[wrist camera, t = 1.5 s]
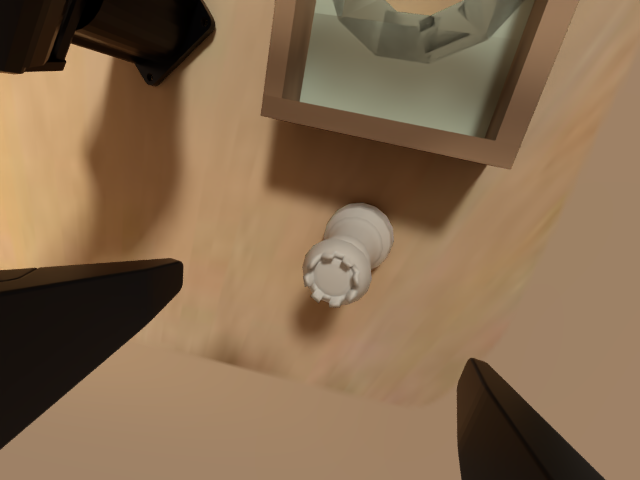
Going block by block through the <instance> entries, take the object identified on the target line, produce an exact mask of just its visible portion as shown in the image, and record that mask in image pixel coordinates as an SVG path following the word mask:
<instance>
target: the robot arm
mask: <svg viewBox="0 0 640 480" xmlns="http://www.w3.org/2000/svg"><path fill="white" fill-rule="evenodd" d="M206 20H208V24H207V26H205V21H206ZM214 28H215V21H214V18H213V17H212V15H211V13H210V11H209V10H208V8H207V6H206V4H205V3H204V1H203V0H0V73H8V74H23V73H24V72H36V71H63V69H64V67H65V64H66V60H65V57H66V55H67V52H68V49H69V47H70V44H74V45H78V46H81V47H84V48H87V49H90V50H94V51H97V52H100V53H103V54H106V55H110V56H113V57H116V58H119V59H122V60H126V61H129V62H132V63H135V65H136V67H137V68H138V70H139V72H140V73H141V75H142V77H143V78H144V80H145V82H146V83H147V84H149V85H152V86H157V85H159V84H160V83H161V82H162V81H163V80H164V79H165V78H166V77H167V76H168V75H169V74H170V73H171V72H172V71H173V70H174V69H175V68H176V67H177V66H178V65H179V64H180V63H181V62H182V61H183V60H184V59H185V58H186V57H187V56H188V55H189V54H190V53H191V52H192V51H193V50H194V49H195V48H196V47H197V46H198V45H199V44H200V43H201V42H202V41H203V40H204V39H205V38H206V37H207V36H208V35H209V34H210V33H212V31H213V30H214ZM152 75H153V80H152V79H151V77H152ZM182 284H183V263H182V262H181V261H178V260H175V259H172V258H165V259H151V260H138V261H124V262H110V263H96V264H83V265H69V266H55V267H41V268H38V269H37V268H27V269H12V270H0V450H1V449H2V448H3V447H4V446H5V445H6V444H8V443H9V442H10V441H11V440H12V439H13V438H15V437H16V436H17V435H18V434H19V433H20V432H22V431H23V430H24V429H25V428H26V427H28V426H29V425H30V424H31V423H32V422H33V421H35V420H36V419H37V418H38V417H39V416H40V415H42V414H43V413H44V412H45V411H46V410H48V409H49V408H50V407H51V406H52V405H53V404H55V403H56V402H57V401H58V400H59V399H60V398H62V397H63V396H64V395H65V394H66V393H67V392H69V391H70V390H71V389H72V388H73V387H75V386H76V385H77V384H78V383H79V382H80V381H81V380H83V379H84V378H85V377H86V376H87V375H89V374H90V373H91V372H92V371H93V370H94V369H96V368H97V367H98V366H99V365H100V364H101V363H103V362H104V361H105V360H106V359H107V358H109V357H110V356H111V355H112V354H113V353H114V352H116V351H117V350H118V349H119V348H120V347H121V346H123V345H124V344H125V343H126V342H127V341H129V340H130V339H131V338H132V337H133V336H134V335H136V334H137V333H138V332H139V331H140V330H141V329H143V328H144V327H145V326H146V325H147V324H148V323H149V322H150V321H151V320H152V319H153V318H154V317H155V316H156V315H157V314H158V313H159V312H160V311H161V310H162V309H163V308H164V307H165V306H166V305H167V304H168V303H169V302H170V301H171V300H172V299H173V298H174V297H175V296H176V295H177V294H178V292H179V291H180V290H181V288H182ZM457 440H458V441H457V442H458V454H459V463H460V471H461V479H462V480H605V479H604V478H603V477H602V476H601V475H600V474H599V473H598V472H597V471H596V470H595V469H594V468H593V467H592V466H591V465H590V464H589V463H588V462H587V461H586V460H585V459H584V458H583V457H582V456H581V455H580V454H579V453H578V452H577V451H576V450H575V449H574V448H573V447H572V446H571V445H570V444H569V443H568V442H567V441H566V440H565V439H564V438H563V437H562V436H561V435H560V434H559V433H558V432H556V430H554V429H553V428H552V427H551V425H549V424H548V423H547V422H546V421H545V420H544V419H543V418H542V417H541V416H540V415H539V414H538V413H537V412H536V411H535V410H534V409H533V408H532V407H531V406H530V405H529V404H528V403H527V402H526V401H525V400H524V399H523V398H522V397H521V396H520V395H519V394H518V393H517V392H516V391H515V390H514V389H513V388H512V387H511V386H510V385H509V384H508V383H507V382H506V381H505V380H504V379H503V378H502V377H501V376H500V375H499V374H498V373H497V372H496V371H495V370H493V368H491V366H490V365H488V363H486V362H484V361H481V360H478V359H475V358H470V359H469V360H468V361H467V363H466V365H465V367H464V370H463V372H462V374H461V377H460V379H459V381H458V385H457Z"/></svg>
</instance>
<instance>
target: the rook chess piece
mask: <svg viewBox="0 0 640 480" xmlns="http://www.w3.org/2000/svg"><path fill="white" fill-rule="evenodd" d="M393 242H394V237H393V227H392V225H391V223H390V221H389V220H388V218H387V216H386V215H385V214H384V213H383V212H381V211H380V210H379V209H378V208H377V207H375V206H372V205H369V204H365V203H353V204H348V205H346V206H344V207H342V208H340V209H338V210H337V211H336V213H335V214H334V215H333V216H332V218H331V219H330V220H329V222H328V223H327V226H326V230H325V233H324V240H323V241H321V242H319V243H317V244H315V245H313V247H312V248H311V249H310V250H309V252H308V253H307V254H306V255H305V259H304V263H303V267H302V268H303V275H304V276H303V278H304V285H305V287H306V286H308V287H309V289H310V291H311V292H312V294H311V297H312V298H313V299H314V300H315V301H317V302H318V303H319V302H320V300H322V301H325V302H328V303H329V307H340V306H341V305H348V304H350V303H353V302H355V301H358V300H359V299H360V298H361V297H362V296H363V295H364V294H365V293H366V292H367V291H368V288H369V285H370V282H371V279H372V277H371V269H373V268H376V267H378V266H379V265H380V264H381V263H382V262H383V261H384V260H385V259H386V258H387V257H388V254H389V253H390V250H391V247H392V244H393Z"/></svg>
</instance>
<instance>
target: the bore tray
mask: <svg viewBox="0 0 640 480" xmlns="http://www.w3.org/2000/svg"><path fill="white" fill-rule="evenodd" d="M578 3H579V0H464V1H461V2H459V3H457V4H455V5H453V6H450V7H448V8H446V9H444V10H442V11H439V12H437V13H435V14H433V15H431V16H429V15H421V14H413V13H405V12H397V11H396V10H395V9H394V8H393V7H392V6H391V5H390V4H389V3H387V2H386V1H385V0H275V8H274V16H273V24H272V32H271V39H270V47H269V55H268V63H267V70H266V78H265V86H264V94H263V102H262V109H261V116H265V117H269V118H273V119H278V120H282V121H287V122H291V123H296V124H300V125H305V126H309V127H314V128H319V129H323V130H328V131H333V132H337V133H342V134H347V135H351V136H356V137H360V138H365V139H370V140H374V141H379V142H384V143H388V144H393V145H398V146H402V147H407V148H412V149H416V150H421V151H425V152H430V153H435V154H439V155H444V156H449V157H453V158H458V159H463V160H467V161H472V162H477V163H481V164H486V165H491V166H496V167H501V168H506V169H511V168H512V165H513V163H514V160H515V158H516V155H517V153H518V150H519V148H520V146H521V143H522V141H523V138H524V136H525V133H526V131H527V128H528V126H529V123H530V121H531V118H532V116H533V114H534V111H535V109H536V106H537V104H538V101H539V99H540V96H541V94H542V91H543V89H544V86H545V84H546V81H547V79H548V77H549V74H550V72H551V69H552V67H553V64H554V62H555V59H556V57H557V54H558V52H559V49H560V47H561V45H562V42H563V40H564V37H565V35H566V32H567V30H568V27H569V25H570V22H571V20H572V17H573V15H574V12H575V10H576V8H577V5H578Z"/></svg>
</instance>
